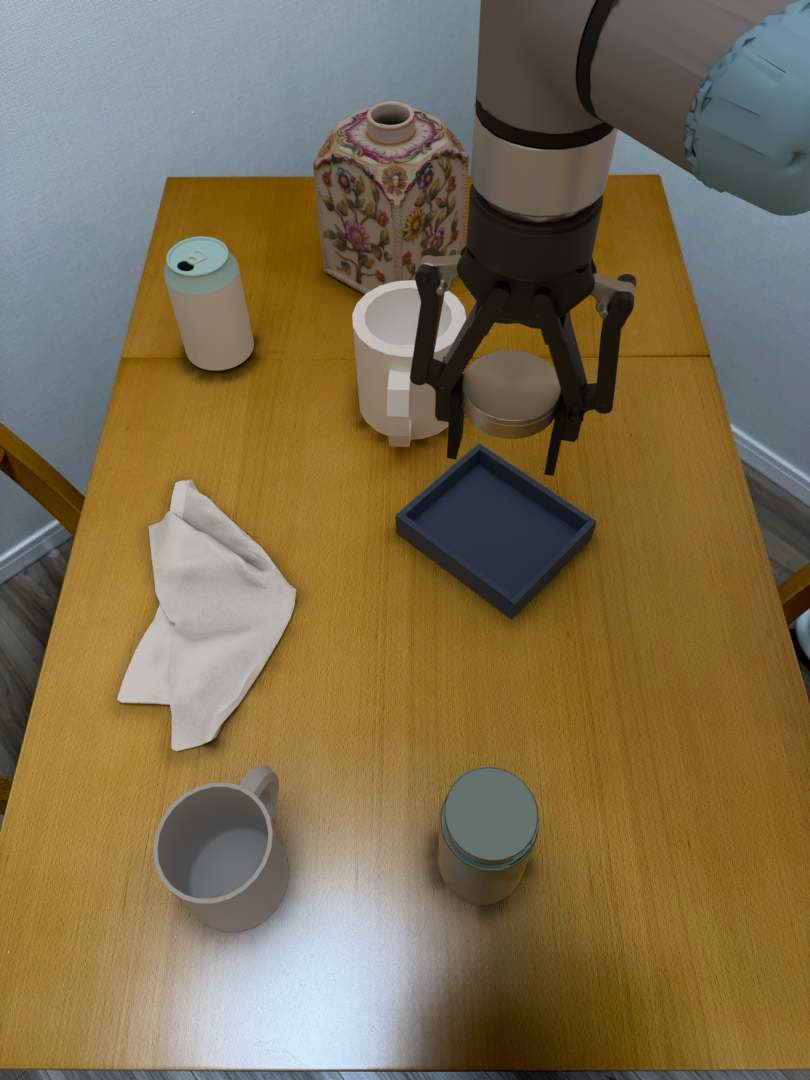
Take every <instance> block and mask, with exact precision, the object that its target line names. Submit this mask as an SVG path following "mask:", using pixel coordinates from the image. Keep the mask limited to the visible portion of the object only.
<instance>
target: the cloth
mask: <svg viewBox="0 0 810 1080" xmlns="http://www.w3.org/2000/svg"><path fill="white" fill-rule="evenodd" d="M171 494H172V495H171V500H170V507H169V510H167V512H166V514H165V515H164V517H163V518H162V520H161V521H159V522H156V523H153V524H151V525H148V535H149V543H150V544H149V545H150V546H149V547H150V557H151V563H152V571H153V580H154V592H155V593H154V594H155V595H156V597H157V600H158V601H159V604H158V608H157V610H156V612H155V615H154V619H153V620H152V622H151V623H150V625H149V626H148V628H147V629H146V631H145V633H144V634H143V636H142V637H141V639H140V641H139V643H138V645H137V647H136V649H135V651H134V653H133V656H132V658H131V660H130V662H129V665H128V667H127V669H126V672H125V674H124V676H123V680H122V683H121V685H120V688H119V692H118V695H117V699H116V700H117V701H118V702H119V703H120V704H144V705H145V704H149V705H164V706H170V714H171V749H170V750H172V751H174V752H176V753H177V752H181V751H186V750H189V749H190V750H191V749H194V748H198V747H201V746H203V745H205V744H207V743H209V742H211V741H213V740H214V739H216V738H217V737H218V735H219V733H220V731H221V730H222V729H221V728H222V726H223V725H224V722H225V721H226V720H227V719H228V718H229V717H230V715H231V714H232V713H233V712H234V711H235V709H236V708H238V706H239V705H240V704H241V702H242V700H243V699H244V698H245V696H246V694H247V693H248V692H249V690H250V689H251V687H252V685H253V684H254V682H255V681H256V680H257V678H258V677H259V675H260V674H261V672H262V670H263V669H264V666H265V665H266V664H267V662H268V660H269V658H270V657H271V655H272V653H273V651H274V650H275V648H276V646H277V645H278V644H279V642H280V640H281V638H282V636H283V634H284V633H285V630H286V628H287V626H288V624H289V622H290V620H291V618H292V615H293V612H294V610H295V605H296V597H297V588H295V587H293V585H291V584H290V583H289V582H288V581H287V579H286V578H285V576H284V575H283V574H282V573H281V571H280V570H279V568H278V567H277V566H276V565H275V563H274V562H273V560H272V559H271V557H270V556H269V554H268V553H266V550H264V548H263V547H262V546H261V545H260V544H258V543H257V542H256V541H255V540H254V539H253V538H252V537H251V536H249V534H248V533H246V532H245V531H244V530H243V529H242V528H241V527H240V526H238V525H237V524H236V523H235V522H234V521H233V520H232V519H231V518H229V516H228V515H226V514H225V513H224V512H223V511H222V510H221V509H220V508H219V507H218V506H217V505H216V504H215V503H214V501H212V500H211V499H210V498H209V497H208V496H206V495H205V494H203V493H201V492H200V491H199V490H198V488H197V486H196V484H195V483H194V481H193V479H184V480H183V479H182V480H179V481H176V482H175V484H174V487H173V490H172V493H171Z"/></svg>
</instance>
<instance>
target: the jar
mask: <svg viewBox="0 0 810 1080" xmlns="http://www.w3.org/2000/svg"><path fill="white" fill-rule="evenodd" d="M539 812H540V811H539V806H538V804H537V801H536V798H535V796H534V793H533V792H532V790H531V789H530V788H529V787H528V784H526V783H525V782H524V781H523V780H522V779H521V778H519V776H517V775H516V774H514V773H512V772H510V771H508V770H507V769H505V768H499V767H494V766H479V767H475V768H472V769H468V770H467V771H465V772H463V773H462V774H461V775H458V776H457V777H456V778H455V780H454V781H453V782H452V783H451V784H450V789H449V790H448V793H447V795H446V796H445V798H444V800H443V803H442V805H441V809H440V819H439V833H438V844H437V845H438V847H437V866H438V871H439V874H440V877H441V879H442V881H443V883H444V884H445V886H446V887H447V888H448V890H449V891H450V892H451V893H452V894H453V895H454V896H456V897H457V898H459V899H460V900H462V901H464V902H466V903H468V904H473V905H477V906H487V905H493V904H497V903H499V902H501V901H503V900H505V899H507V898H508V897H509V896H510V895H511V894H513V892H514V891H515V890H516V889H517V888H518V886H519V884H520V882H521V880H522V877H523V875H524V872H525V870H526V868H527V865H528V862H529V860H530V857H531V855H532V852H533V850H534V847H535V844H536V842H537V839H538V835H539V824H540V813H539Z"/></svg>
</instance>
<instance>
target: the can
mask: <svg viewBox="0 0 810 1080" xmlns="http://www.w3.org/2000/svg"><path fill="white" fill-rule="evenodd" d="M165 262H166V263H165V266H164V268H163V279H164V283H165V286H166V290H167V293H168V296H169V297H168V298H169V300H170V304H171V307H172V311H173V314H174V318H175V321H176V324H177V328H178V330H179V334H180V337H181V341H182V345H183V348H184V351H185V354H186V357H187V359H188V360H189V362H190V363H192V364H193V365H194V366H195V367H197V368H200V369H203V370H207V371H226V370H229V369H233V368H235V367H237V366H239V365H241V364H242V363H244V362H245V361H246V360H247V359H249V357H250V356H251V354H252V353H253V351H254V347H255V340H254V335H253V331H252V326H251V321H250V315H249V311H248V306H247V301H246V296H245V292H244V291H245V290H244V286H243V282H242V276H241V272H240V268H239V267H240V266H239V263H238V262H239V261H238V260H237V258H236V257H235V256H234V254H232V253H231V252H230V251H229V248H228V246H227V245H226V244H225V242H223V241H222V240H219V239H218V238H214V237H210V236H204V235H203V236H202V235H201V236H193V237H188V238H185V239H182V240H181V241H178V242H176V243H175V244H174V245H173V246H172V247H171V248H170V249H169V250H168V252H167V254H166V257H165Z"/></svg>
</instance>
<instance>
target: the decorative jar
mask: <svg viewBox="0 0 810 1080" xmlns="http://www.w3.org/2000/svg"><path fill="white" fill-rule="evenodd" d="M469 161H470V160H469V154H468V153H467V151H466V150H465V148H464V147H463V145H462V143H461V142H460V140H458V139H457V138H456V135H455V134H454V133H453V132H452V131H451V130H450V128H449V127H448V125H447V124H446V122H445V121H444V120H443V119H442V118H440V117H438V116H435V115H433V114H431V113H429V112H427V111H425V110H423V109H419V108H417V107H415V106H410V105H409V104H406V103H405V102H400V101H393V100H388V101H382V102H379V103H377V104H376V105H373V106H367V107H362V108H360V109H358V110H357V111H355V112H353V113H351V114H349V115H347V116H345V117H344V118H343V119H341V120H340V121H338V122H337V123H336V124H335V125H334V126H333V128H332V130H331V131H330V132H329V134H328V136H327V138H326V139H325V141H324V143H323V145H322V146H321V147H320V149H319V151H318V153H317V155H316V157H315V159H314V160H313V163H312V172H313V180H314V181H313V182H314V190H315V201H316V202H315V203H316V213H317V221H318V233H319V240H320V249H321V258H322V264H323V271H324V273H325V274H328V275H330V276H331V277H332V278H335V279H336V280H339V281H340V282H341V283H343V284H345V285H347V286H349V287H350V288H352V289H354V290H356V291H358V292H360V293H361V294H363V296H364V295H365V294H366V293H368V292H370V291H371V290H373V289H375V288H377V287H379V286H381V285H384V284H388V283H391V282H395V281H408V280H415V275H416V272H417V270H418V267H419V264H420V261H421V258H422V255H423V252H424V250H426V249H427V248H435V249H437V250H438V251H439V252H440V254H441V256H450V255H460V253H461V251H462V249H463V248H464V247H465V246H466V233H467V232H466V231H467V213H468V212H467V211H468V185H469V183H468V182H469V163H470V162H469Z"/></svg>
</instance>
